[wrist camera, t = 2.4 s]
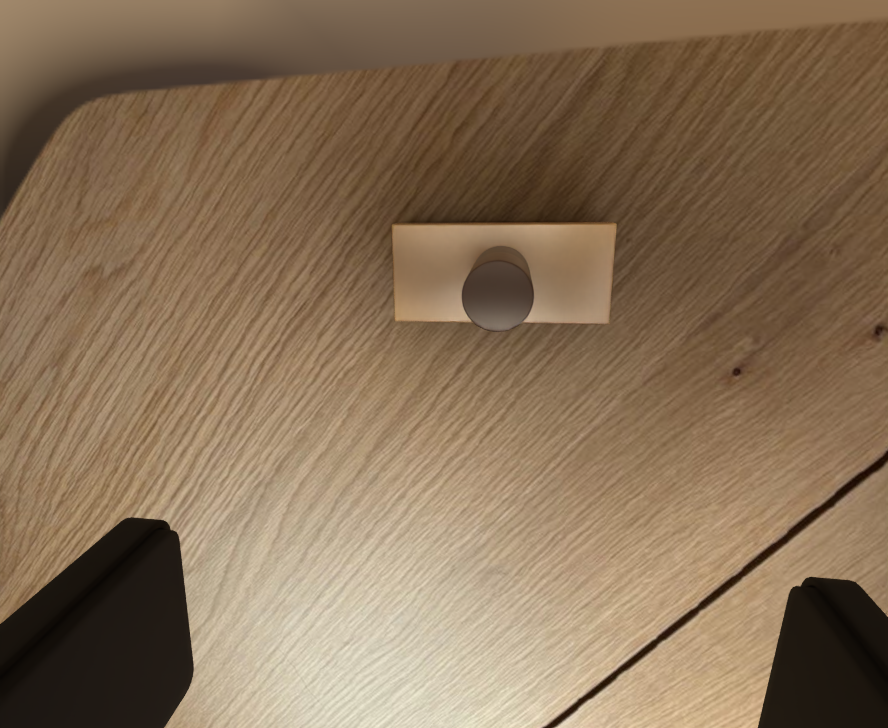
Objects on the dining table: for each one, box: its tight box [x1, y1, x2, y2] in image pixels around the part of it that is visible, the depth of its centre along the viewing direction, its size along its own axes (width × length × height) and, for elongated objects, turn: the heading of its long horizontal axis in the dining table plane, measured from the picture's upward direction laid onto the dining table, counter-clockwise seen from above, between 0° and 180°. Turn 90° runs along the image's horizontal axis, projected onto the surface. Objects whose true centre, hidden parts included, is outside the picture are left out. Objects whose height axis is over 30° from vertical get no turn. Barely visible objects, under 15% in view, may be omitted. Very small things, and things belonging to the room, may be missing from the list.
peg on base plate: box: [392, 222, 617, 332], centre depth 25 cm, size 4×10×9 cm, turn 91°
